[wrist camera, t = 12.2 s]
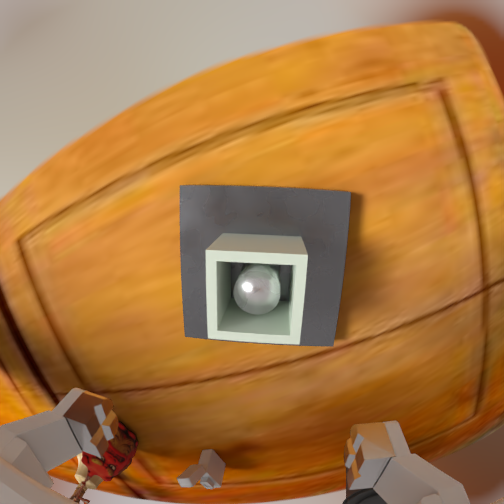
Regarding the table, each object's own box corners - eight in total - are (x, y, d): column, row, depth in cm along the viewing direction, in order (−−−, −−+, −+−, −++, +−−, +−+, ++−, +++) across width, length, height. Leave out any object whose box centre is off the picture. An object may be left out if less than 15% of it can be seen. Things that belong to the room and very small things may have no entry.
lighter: (226, 464, 34) (216, 508, 26) (215, 465, 34) (205, 508, 27) (201, 435, 33) (187, 482, 25) (190, 437, 33) (174, 482, 25)
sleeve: (223, 304, 26) (207, 338, 20) (223, 233, 25) (205, 249, 19) (295, 309, 26) (299, 344, 20) (301, 236, 24) (307, 254, 18)
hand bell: (123, 479, 39) (93, 539, 24) (92, 472, 40) (61, 525, 25) (100, 452, 37) (62, 515, 22) (70, 446, 39) (32, 500, 23)
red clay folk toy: (149, 441, 34) (112, 519, 20) (125, 451, 36) (89, 518, 22) (109, 407, 34) (58, 482, 19) (89, 420, 35) (43, 484, 21)
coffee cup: (340, 469, 33) (347, 523, 23) (330, 440, 31) (338, 502, 22) (394, 453, 32) (409, 505, 22) (391, 421, 30) (412, 479, 20)
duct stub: (189, 329, 29) (168, 365, 23) (185, 185, 26) (156, 187, 19) (330, 338, 28) (341, 378, 21) (346, 191, 24) (368, 195, 18)
